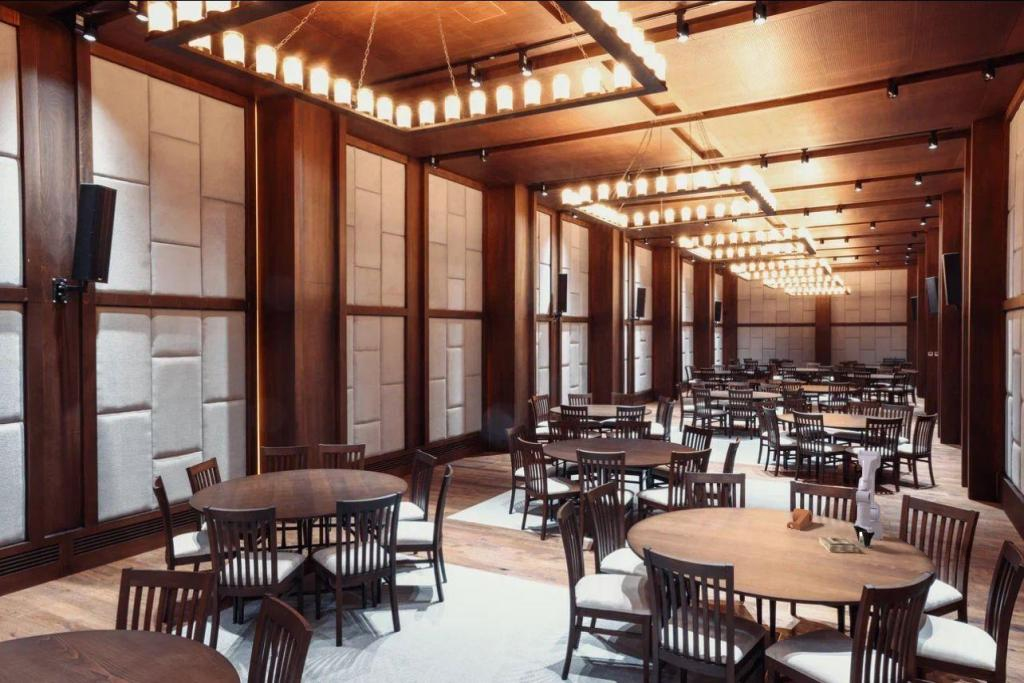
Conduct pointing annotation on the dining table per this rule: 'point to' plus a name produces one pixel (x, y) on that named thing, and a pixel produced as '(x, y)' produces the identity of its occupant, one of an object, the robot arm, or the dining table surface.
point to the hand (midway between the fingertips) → (863, 543)
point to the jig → (838, 544)
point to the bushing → (861, 540)
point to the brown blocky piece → (800, 519)
